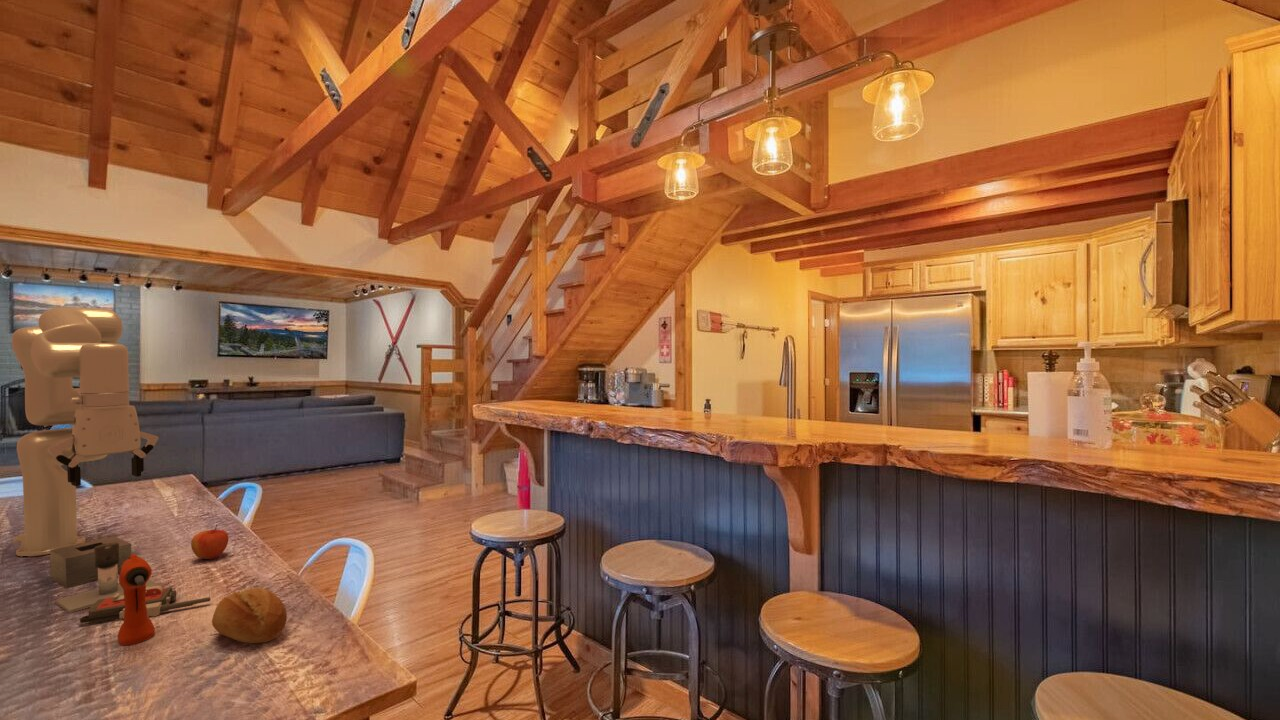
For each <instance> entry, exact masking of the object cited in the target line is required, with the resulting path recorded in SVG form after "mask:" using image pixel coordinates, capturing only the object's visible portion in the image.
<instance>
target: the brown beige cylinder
mask: <svg viewBox="0 0 1280 720" xmlns="http://www.w3.org/2000/svg"><path fill="white" fill-rule="evenodd" d="M94 555H95V567H96V568H98V580H97V582H98V588H97V589H99V595H107V594H111V593H114V592H116V591H118V583H119V578H118V577H119V574H118V569H117V564H118V563H119V562H120V553H119V543H118V542H113V543H106V544H102V545H98V546H96V547H94Z"/></svg>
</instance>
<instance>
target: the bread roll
mask: <svg viewBox="0 0 1280 720" xmlns="http://www.w3.org/2000/svg"><path fill="white" fill-rule="evenodd" d="M287 619H288V615H287V609H286V606H285V605H284V603H283V601H282V600H281V598H280V597H279V596H278V595H276V594H275V593H274V592H272V591H270V590H268V589H266V588H263V587H256V588H255V587H253V588H250V589H249V588H248V589H243V590H241V591H237V592H236V591H234V592H232V593H230V594H229V595H227V596H224V597H223V598H222V599H221V600H220V601H218V604H217V605H216V607H215V610H214V612H213V615H212V619H211V624H212V626H213V628H214V629H215V631H216V632H218V634H220V635H222V636H225V637H227V638H231V639H233V640H235V641H238V642H241V643H245V644H261V643H266V642H267V643H268V642H270V641H273V640H274V639H277V638H278V637H280V635H281V634H282V632H283V631H284V628H285V626H286V624H287Z"/></svg>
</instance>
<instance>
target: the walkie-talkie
mask: <svg viewBox="0 0 1280 720" xmlns="http://www.w3.org/2000/svg"><path fill="white" fill-rule="evenodd" d="M119 595H120V593H116V594H115V596H114V597H112V598H106V599H100V600H97V601H96V602H95V603H94V604H93V605H92V606H91V607H90V608H88V615H85V616H82V617H81V618H79V623H81V624H82V623H88V624H90V625H94V623H96V624H99V623H98V622H101V623H105V622H104V621H106V622H109V621H108V620H112V621H117V620H123V619H124V612H125V600H124V595H121V596H119ZM176 599H177V590H174V589H173V587H166V588H164V586H163V585H161V584H159V585H154V586H150V587H146V597H145V601H146V608H147V615H148V618H150V617H149V616H152V617H157V615H159V616H160V614H161V613H163V612H167V611H170V610H175V609H181V608H186V607H191V606H194V605H197V604H202V603H207V602H211V597H201V598H197V599H193V600H192V599H191V600H186V601H180V602H175V601H176ZM171 602H174V603H171ZM169 603H170V604H169ZM121 618H123V619H121ZM116 619H117V620H116Z"/></svg>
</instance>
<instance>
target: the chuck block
mask: <svg viewBox="0 0 1280 720" xmlns="http://www.w3.org/2000/svg"><path fill="white" fill-rule="evenodd" d="M113 542H118V543H119V553H120V562H119V563H118V564H117V569H118V575H120V568H121V566H122V564H123V563H124V562H125V561H126V560H127V559H129V558H130V555H132V543H131V542H128V541H126V540H124V539H121V538H119V537H116V536H115V535H113V536H109V537H103V538H99V539H94V540H89V541H85V543H80V544H76V545H71V546H67V547H62V548H58V549H53V550H50V554H49V564H50V579H51V580H53V581H54V582H56V583H58V584H59V585H60V586H62V587H63V588H65V589H68V588H72V587H76V586H80V585H84V584H87V583H91V582H95V581H98V568H96V567H95V555H94V547H96V546H98V545H102V544H106V543H113Z"/></svg>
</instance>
